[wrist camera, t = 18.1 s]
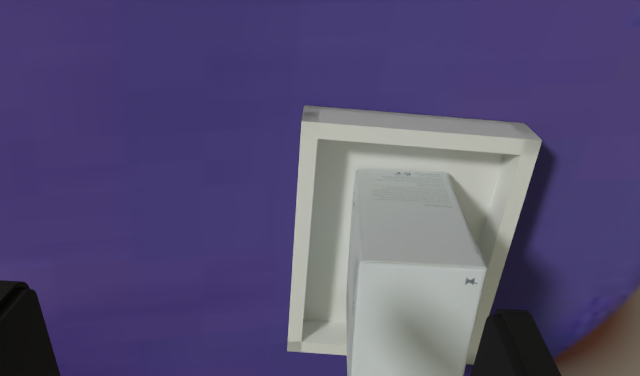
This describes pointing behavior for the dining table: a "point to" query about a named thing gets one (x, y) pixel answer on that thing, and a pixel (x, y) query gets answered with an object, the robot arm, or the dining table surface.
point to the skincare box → (410, 276)
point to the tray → (406, 155)
